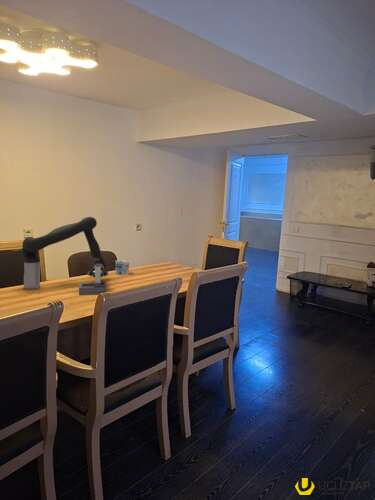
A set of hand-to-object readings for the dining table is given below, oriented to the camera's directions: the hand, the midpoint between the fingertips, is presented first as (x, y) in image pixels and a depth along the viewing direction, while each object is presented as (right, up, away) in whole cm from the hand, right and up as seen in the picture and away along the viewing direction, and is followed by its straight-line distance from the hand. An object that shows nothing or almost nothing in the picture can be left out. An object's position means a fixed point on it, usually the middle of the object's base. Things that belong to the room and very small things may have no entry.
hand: (97, 275), depth 220 cm
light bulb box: (+4, -3, +59) cm, 60 cm away
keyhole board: (-4, -11, +4) cm, 12 cm away
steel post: (-1, -9, +4) cm, 10 cm away
